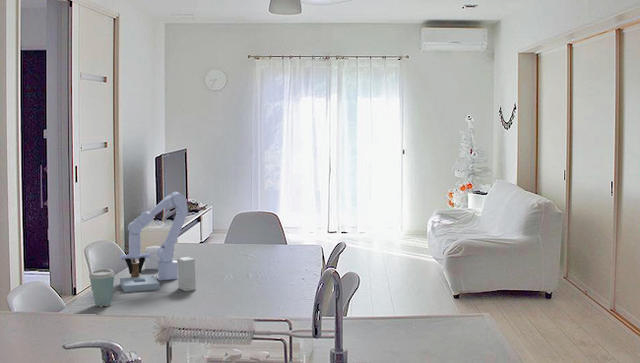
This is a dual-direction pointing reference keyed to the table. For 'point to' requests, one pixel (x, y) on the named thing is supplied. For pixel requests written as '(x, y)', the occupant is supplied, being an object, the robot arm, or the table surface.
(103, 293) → the disposable coffee cup
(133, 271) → the walnut peg
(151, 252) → the photo printer
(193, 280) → the skincare box
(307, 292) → the table surface
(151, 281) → the socket block
